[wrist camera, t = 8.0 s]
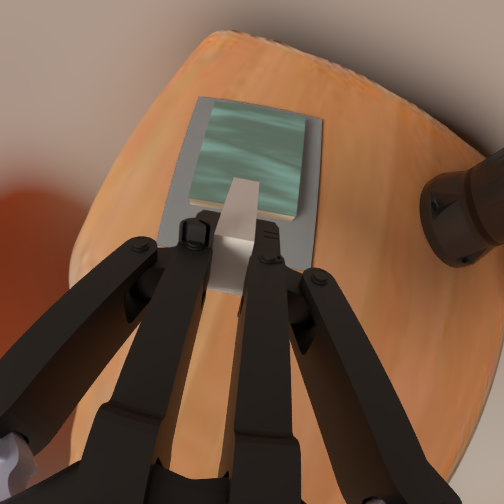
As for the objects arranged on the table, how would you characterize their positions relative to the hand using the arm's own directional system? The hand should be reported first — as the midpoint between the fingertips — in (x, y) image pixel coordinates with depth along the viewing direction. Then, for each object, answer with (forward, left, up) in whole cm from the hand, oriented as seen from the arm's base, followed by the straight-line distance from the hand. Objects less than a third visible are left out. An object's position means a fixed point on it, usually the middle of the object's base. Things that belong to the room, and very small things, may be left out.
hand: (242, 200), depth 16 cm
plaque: (-3, -3, -15) cm, 15 cm away
